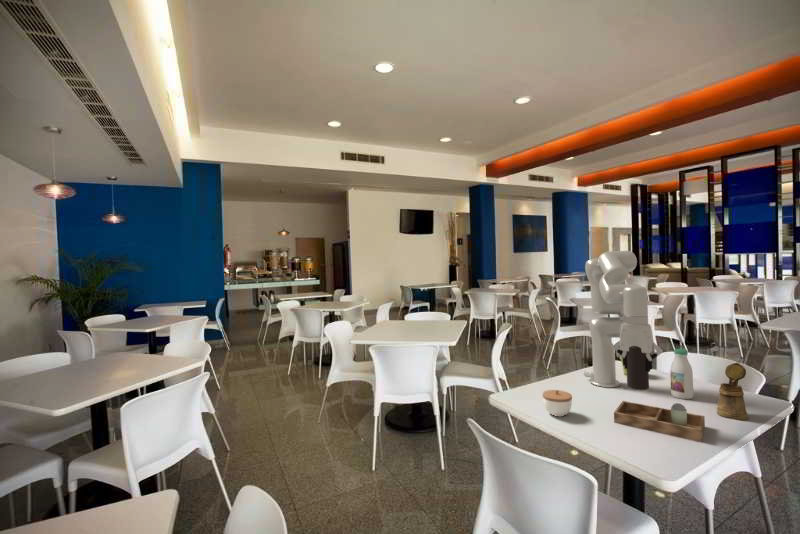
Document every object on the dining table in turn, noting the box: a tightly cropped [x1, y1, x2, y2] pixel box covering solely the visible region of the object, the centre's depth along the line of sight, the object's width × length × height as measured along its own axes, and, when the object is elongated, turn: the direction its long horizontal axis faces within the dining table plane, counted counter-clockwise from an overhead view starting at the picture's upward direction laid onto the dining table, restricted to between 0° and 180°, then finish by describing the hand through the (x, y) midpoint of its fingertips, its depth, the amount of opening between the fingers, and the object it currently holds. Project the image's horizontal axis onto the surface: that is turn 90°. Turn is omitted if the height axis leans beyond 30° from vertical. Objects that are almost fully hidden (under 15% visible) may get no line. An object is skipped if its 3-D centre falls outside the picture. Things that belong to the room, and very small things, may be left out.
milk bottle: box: [669, 348, 694, 400], centre depth 164 cm, size 8×8×20 cm
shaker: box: [670, 402, 688, 427], centre depth 133 cm, size 4×4×9 cm
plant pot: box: [619, 356, 627, 377], centre depth 195 cm, size 9×9×9 cm
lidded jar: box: [542, 389, 573, 417], centre depth 151 cm, size 11×11×9 cm
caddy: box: [613, 400, 706, 443], centre depth 137 cm, size 25×14×4 cm, turn 48°
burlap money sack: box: [716, 362, 749, 421], centre depth 145 cm, size 9×14×18 cm, turn 127°
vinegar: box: [626, 346, 650, 391], centre depth 140 cm, size 7×7×20 cm
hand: (637, 369), depth 140 cm, fingers closed on vinegar, 6 cm apart
